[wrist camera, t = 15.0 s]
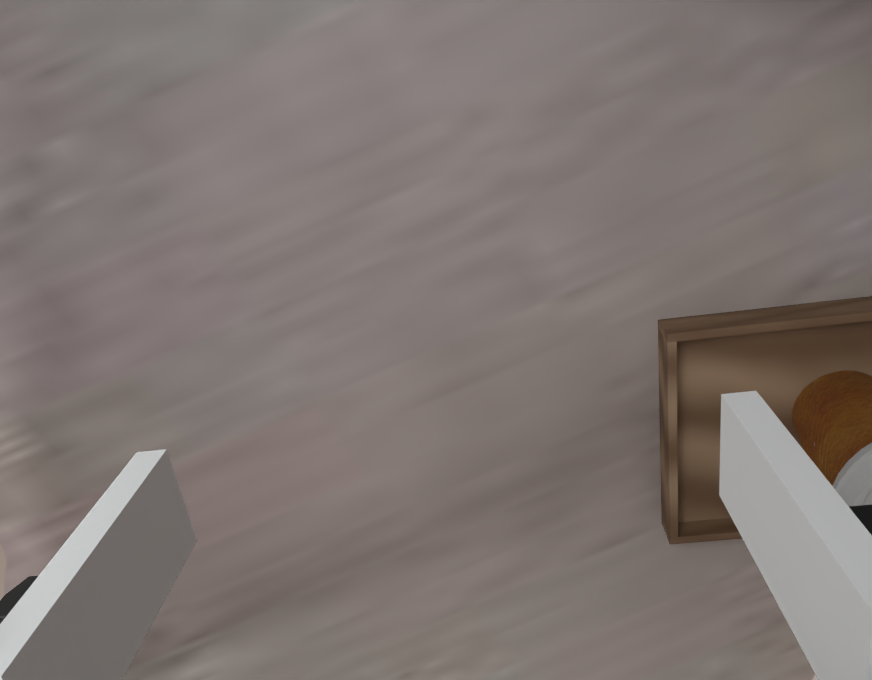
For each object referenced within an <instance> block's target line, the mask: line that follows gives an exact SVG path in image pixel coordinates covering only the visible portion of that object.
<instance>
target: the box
mask: <svg viewBox="0 0 872 680" xmlns="http://www.w3.org/2000/svg"><path fill="white" fill-rule="evenodd" d="M658 346H659V399H660V452H661V506H662V525H663V527H664V530H665V532H666V535H667V538H668V540H669V543H670V544H679V543H691V542H703V541H716V540H728V539H741V538H742V537H741V535H740V533H739V531H738V529H737V527H736V525H735V524H734V522H733V520H732V518H731V516H730V514H729V512H728V511H727V509H726V507H725V505H724V503H723V501H722V499H721V498H720V496H719V480H720V429H721V394H727V393H737V392H747V391H757V392H758V393H759V395H760V396H761V397H762V398H763V400H764V401H765V402H766V403H767V405H768V406H769V407H770V409H771V410H772V411H773V412H774V414H775V415H776V416H777V417H778V419H779V420H780V421H781V422H782V424H783V425H784V426H785V427H786V429H787V430H788V431H789V432H790V434H791V435H792V436H793V437H794V439H795V440H796V441H797V442H798V444H799V445H800V446H801V447H802V449H803V450H804V448H803V446H802V444H801V441H800V439H799V437H798V435H797V433H796V430H795V429H794V426H793V422H792V410H793V406H794V403H795V401H796V399H797V397H798V396H799V395H800V393H801V392H802V391H803V389H804V388H805V387H806V386H808V385H809V384H810V383H811V382H813V381H814V380H816V379H817V378H819V377H821V376H823V375H826V374H829V373H833V372H838V371H845V370H847V371H858V372H862V373H865V374H867V375H870V376H872V296H871V297H862V298H853V299H844V300H835V301H826V302H816V303H807V304H798V305H789V306H780V307H771V308H762V309H753V310H744V311H735V312H726V313H717V314H708V315H699V316H690V317H681V318H671V319H662V320H658Z"/></svg>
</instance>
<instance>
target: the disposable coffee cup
mask: <svg viewBox="0 0 872 680" xmlns="http://www.w3.org/2000/svg"><path fill="white" fill-rule="evenodd" d="M792 422H793V426H794V429H795V430H796V433H797V435H798V437H799V439H800V441H801V444H802V446H803V448H804V451H805V452H806V454H807V455H808V456H809V457H810V459H811V460H812V461H813V462H814V464H815V465H816V466H817V467H818V469H819V470H820V471H821V473H822V474H823V475H824V476H825V478H826V479H827V480H828V481H829V483H830V484H831V485H832V486H833V488H834V489H835V490H836V491H837V493H838V494H839V495H840V496H841V498H842V499H843V500H844V501H845V503H846V504H847V505H848V506H860V505H872V376H870V375H867V374H865V373H862V372H858V371H847V370H845V371H838V372H833V373H829V374H826V375H823V376H821V377H819V378H817V379H816V380H814V381H813V382H811V383H810V384H809V385H808V386H806V387H805V388H804V389H803V391H802V392H801V393H800V395H799V396H798V397H797V399H796V401H795V403H794V406H793V410H792Z"/></svg>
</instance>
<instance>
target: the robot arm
mask: <svg viewBox="0 0 872 680" xmlns="http://www.w3.org/2000/svg"><path fill="white" fill-rule="evenodd" d="M719 496H720V498H721V499H722V501H723V503H724V505H725V507H726V509H727V511H728V512H729V514H730V516H731V518H732V520H733V522H734V524H735V525H736V527H737V529H738V531H739V533H740V535H741V537H742V539H743V540H744V542H745V544H746V546H747V548H748V550H749V552H750V553H751V555H752V557H753V559H754V561H755V563H756V565H757V566H758V568H759V570H760V572H761V574H762V576H763V578H764V579H765V581H766V583H767V585H768V587H769V589H770V591H771V593H772V594H773V596H774V598H775V600H776V602H777V604H778V606H779V607H780V609H781V611H782V613H783V615H784V617H785V619H786V620H787V622H788V624H789V626H790V628H791V630H792V632H793V633H794V635H795V637H796V639H797V641H798V643H799V645H800V647H801V648H802V650H803V652H804V654H805V656H806V658H807V660H808V661H809V663H810V665H811V667H812V669H813V671H814V673H815V674H816V676H817V678H818V680H872V505H860V506H848V505H847V504H846V503H845V501H844V500H843V499H842V498H841V496H840V495H839V494H838V493H837V491H836V490H835V489H834V488H833V486H832V485H831V484H830V483H829V481H828V480H827V479H826V478H825V476H824V475H823V474H822V473H821V471H820V470H819V469H818V467H817V466H816V465H815V464H814V462H813V461H812V460H811V459H810V457H809V456H808V455H807V454H806V452H805V451H804V450H803V449H802V447H801V446H800V445H799V444H798V442H797V441H796V440H795V439H794V437H793V436H792V435H791V434H790V432H789V431H788V430H787V429H786V427H785V426H784V425H783V424H782V422H781V421H780V420H779V419H778V417H777V416H776V415H775V414H774V412H773V411H772V410H771V409H770V407H769V406H768V405H767V403H766V402H765V401H764V400H763V398H762V397H761V396H760V395H759V393H758V392H757V391H747V392H737V393H727V394H721V429H720V480H719ZM196 541H197V539H196V536H195V533H194V530H193V527H192V524H191V521H190V518H189V515H188V512H187V509H186V506H185V503H184V500H183V497H182V494H181V491H180V488H179V485H178V482H177V479H176V476H175V473H174V470H173V467H172V464H171V461H170V458H169V455H168V452H167V449H166V450H156V451H146V452H137V453H136V454H135V455H134V456H133V458H132V459H131V460H130V461H129V463H128V464H127V465H126V466H125V468H124V469H123V470H122V471H121V473H120V474H119V475H118V477H117V478H116V479H115V480H114V482H113V483H112V484H111V485H110V487H109V488H108V489H107V490H106V492H105V493H104V494H103V495H102V497H101V498H100V499H99V500H98V502H97V503H96V504H95V505H94V507H93V508H92V509H91V511H90V512H89V513H88V514H87V516H86V517H85V518H84V519H83V521H82V522H81V523H80V524H79V526H78V527H77V528H76V529H75V531H74V532H73V533H72V534H71V536H70V537H69V538H68V539H67V541H66V542H65V543H64V544H63V546H62V547H61V548H60V550H59V551H58V552H57V553H56V555H55V556H54V557H53V558H52V560H51V561H50V562H49V563H48V565H47V566H46V567H45V568H44V570H43V571H42V572H41V573H40V575H39V576H30V577H28V578H26V579H25V580H24V581H23V582H21V583H20V584H19V585H17V586H16V587H15V588H14V589H12V590H11V591H10V592H8V593H7V594H6V595H5V596H4V597H3V598H2V599H1V601H0V680H122V679H123V677H124V675H125V673H126V671H127V670H128V668H129V666H130V664H131V662H132V660H133V658H134V657H135V655H136V653H137V651H138V649H139V647H140V645H141V644H142V642H143V640H144V638H145V636H146V634H147V632H148V631H149V629H150V627H151V625H152V623H153V621H154V619H155V618H156V616H157V614H158V612H159V610H160V608H161V606H162V605H163V603H164V601H165V599H166V597H167V595H168V593H169V592H170V590H171V588H172V586H173V584H174V582H175V580H176V579H177V577H178V575H179V573H180V571H181V569H182V567H183V566H184V564H185V562H186V560H187V558H188V556H189V554H190V553H191V551H192V549H193V547H194V545H195V543H196Z"/></svg>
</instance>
